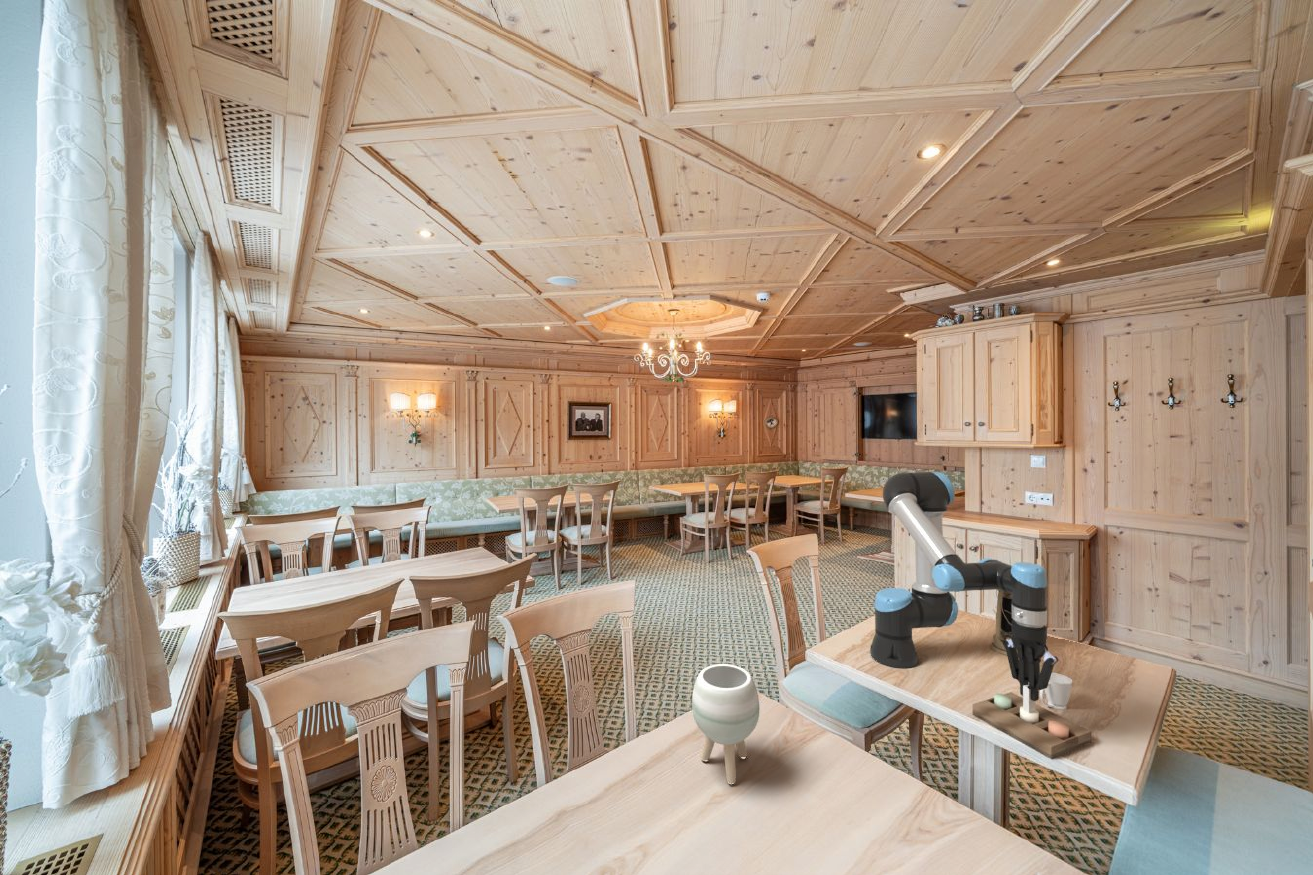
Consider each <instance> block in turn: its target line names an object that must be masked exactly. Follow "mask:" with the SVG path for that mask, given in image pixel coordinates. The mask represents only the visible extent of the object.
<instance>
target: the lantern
mask: <svg viewBox="0 0 1313 875" xmlns="http://www.w3.org/2000/svg"><path fill="white" fill-rule="evenodd" d="M995 590H996V592H995V597H996V598H997V600H996V611H995V610H993V612H994V613H995V633H994V635H993V638H992V642H991V643H990V644H989V647H990V650H992V651H993V652H995V653H997V654H998V655H1002V656H1005V657H1008V656H1007V652H1006V649H1005V647H1004V645H1003V643H1002V641H1003V640H1007V639H1011V637H1012V635H1013V634H1012V621H1013V619H1012V594H1009V593H1007V592H1004V591H1002V590H998V589H995ZM1016 650H1017V649H1016ZM1017 655H1018V651H1017Z"/></svg>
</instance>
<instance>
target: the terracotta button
mask: <svg viewBox="0 0 1313 875" xmlns="http://www.w3.org/2000/svg"><path fill="white" fill-rule="evenodd" d="M1048 733H1050V734H1052V735H1054V736H1056V737H1058V738H1060V739H1062V740H1065V739H1068V738H1069V728H1068V726H1067V725H1065V724H1063V723H1061V722H1058V721H1049V722H1048Z"/></svg>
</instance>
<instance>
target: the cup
mask: <svg viewBox="0 0 1313 875" xmlns="http://www.w3.org/2000/svg"><path fill="white" fill-rule="evenodd" d="M1072 685H1073V680H1072V679H1071V678H1070V677H1069V676H1067V675H1065V674H1061V673H1057V672H1053V671H1052V673H1051V677H1050V680H1049V683H1048V687H1047V688H1045V689H1042V690H1039V700H1040V701H1041V703H1043V705H1046V706H1048V707H1049V708H1052V709H1053V708H1055V709H1057V710H1067V707H1068V706H1067V704H1068V702H1069V700H1070V696H1071V691H1072ZM1044 693H1045V698H1046V700H1048V701H1047V703H1046V701H1045V700H1044Z"/></svg>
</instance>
